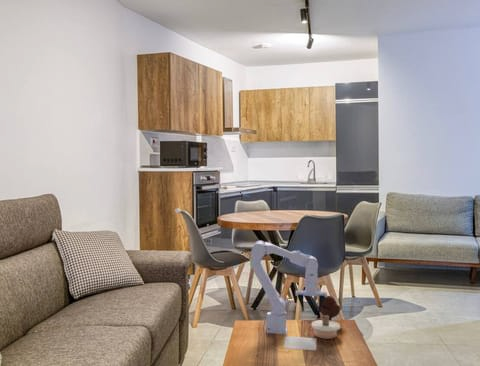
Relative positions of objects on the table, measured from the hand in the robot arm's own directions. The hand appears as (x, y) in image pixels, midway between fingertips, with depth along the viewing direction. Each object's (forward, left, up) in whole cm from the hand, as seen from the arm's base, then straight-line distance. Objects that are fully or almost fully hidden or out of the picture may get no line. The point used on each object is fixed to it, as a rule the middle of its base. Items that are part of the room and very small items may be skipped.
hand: (311, 311), depth 233 cm
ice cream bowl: (+9, +12, -11) cm, 18 cm away
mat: (-4, -15, -10) cm, 19 cm away
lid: (+7, -4, -5) cm, 10 cm away
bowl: (+7, -4, -10) cm, 13 cm away
